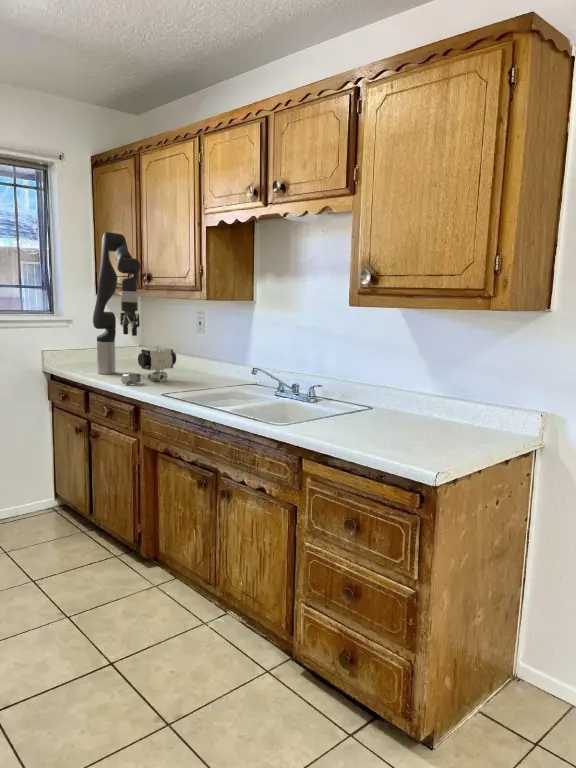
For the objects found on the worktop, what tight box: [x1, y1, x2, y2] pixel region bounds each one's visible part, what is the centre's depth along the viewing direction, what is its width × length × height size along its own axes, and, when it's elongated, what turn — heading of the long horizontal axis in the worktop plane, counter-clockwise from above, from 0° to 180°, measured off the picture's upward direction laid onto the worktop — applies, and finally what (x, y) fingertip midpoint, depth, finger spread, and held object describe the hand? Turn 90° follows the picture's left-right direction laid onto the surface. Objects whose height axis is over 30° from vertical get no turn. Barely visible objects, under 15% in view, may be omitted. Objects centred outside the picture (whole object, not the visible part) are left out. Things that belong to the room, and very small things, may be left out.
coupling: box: [121, 371, 142, 385], centre depth 278 cm, size 5×8×5 cm
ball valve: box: [137, 345, 177, 383], centre depth 287 cm, size 18×8×18 cm, turn 132°
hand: (130, 335), depth 275 cm, fingers open, 8 cm apart
